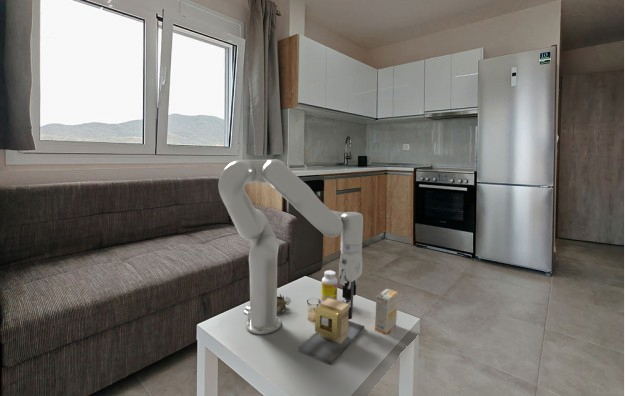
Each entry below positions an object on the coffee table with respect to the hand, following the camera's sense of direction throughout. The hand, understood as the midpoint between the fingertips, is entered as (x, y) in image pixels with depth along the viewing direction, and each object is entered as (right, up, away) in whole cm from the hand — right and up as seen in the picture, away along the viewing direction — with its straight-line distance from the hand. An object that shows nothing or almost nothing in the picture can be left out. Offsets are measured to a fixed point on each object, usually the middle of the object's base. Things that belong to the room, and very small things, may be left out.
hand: (349, 295), depth 116 cm
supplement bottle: (-6, -9, +20) cm, 22 cm away
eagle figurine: (-27, -9, +11) cm, 31 cm away
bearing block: (-6, -12, -7) cm, 16 cm away
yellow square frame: (-8, -9, -11) cm, 16 cm away
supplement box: (+13, -12, 0) cm, 18 cm away
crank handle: (-4, -9, -5) cm, 11 cm away
